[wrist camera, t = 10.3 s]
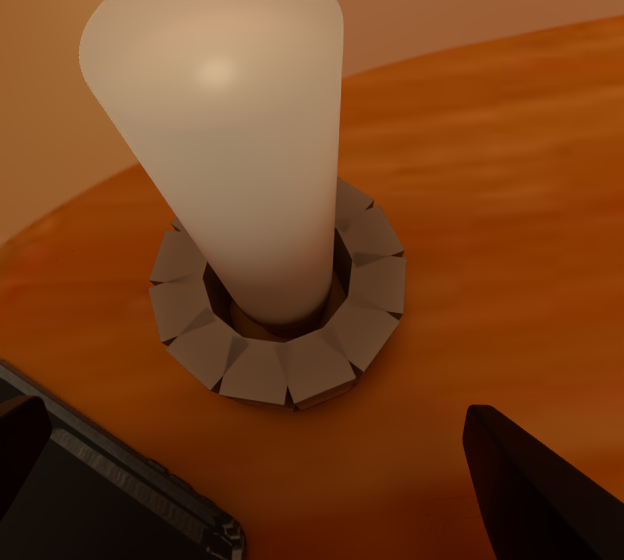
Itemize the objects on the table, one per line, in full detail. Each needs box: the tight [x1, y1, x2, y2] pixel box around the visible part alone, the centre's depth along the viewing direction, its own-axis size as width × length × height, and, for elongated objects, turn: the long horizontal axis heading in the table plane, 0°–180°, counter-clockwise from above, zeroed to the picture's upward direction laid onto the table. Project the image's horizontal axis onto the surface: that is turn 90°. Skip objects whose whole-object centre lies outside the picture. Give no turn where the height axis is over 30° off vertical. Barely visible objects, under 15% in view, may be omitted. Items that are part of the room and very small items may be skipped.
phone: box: [0, 360, 246, 560], centre depth 14 cm, size 8×1×15 cm
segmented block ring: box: [148, 177, 407, 412], centre depth 16 cm, size 10×10×4 cm
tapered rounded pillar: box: [79, 0, 344, 338], centre depth 12 cm, size 4×4×13 cm
